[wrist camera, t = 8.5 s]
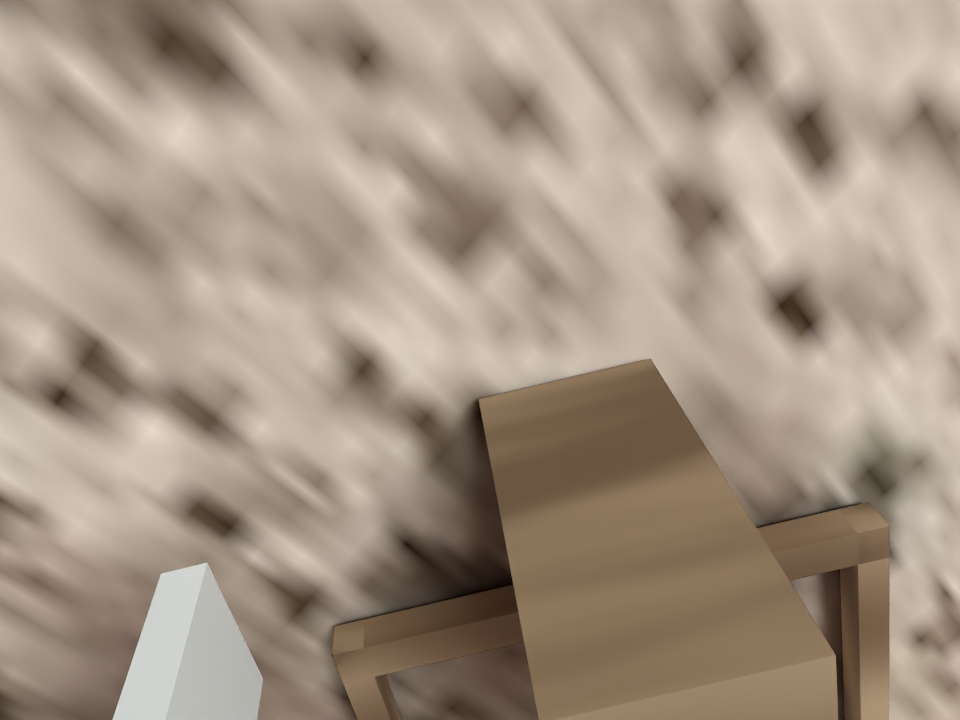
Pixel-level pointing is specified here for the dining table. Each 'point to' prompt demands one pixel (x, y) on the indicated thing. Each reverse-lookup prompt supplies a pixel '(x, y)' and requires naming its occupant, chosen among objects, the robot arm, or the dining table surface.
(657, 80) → the dining table surface
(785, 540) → the brown open frame
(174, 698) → the robot arm
